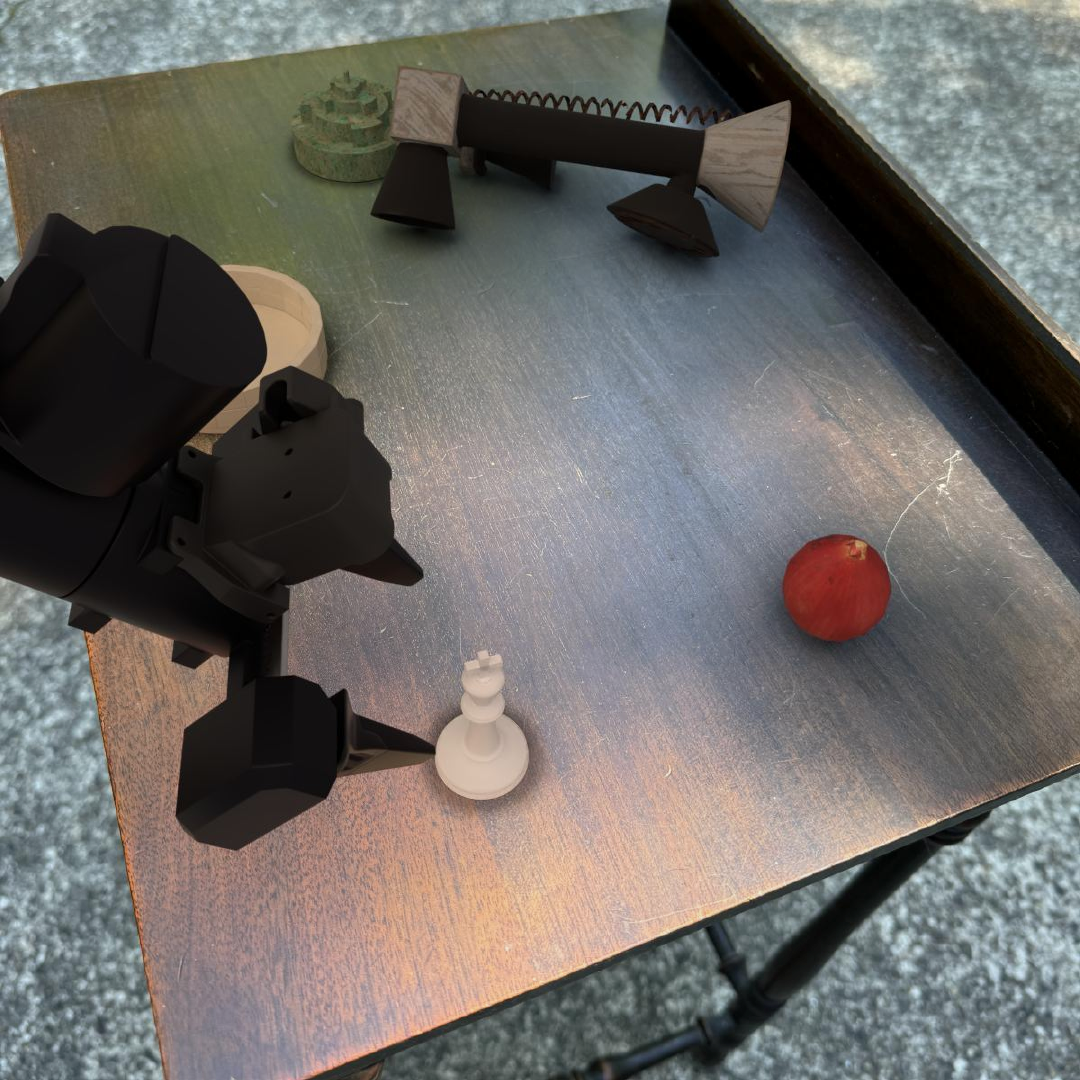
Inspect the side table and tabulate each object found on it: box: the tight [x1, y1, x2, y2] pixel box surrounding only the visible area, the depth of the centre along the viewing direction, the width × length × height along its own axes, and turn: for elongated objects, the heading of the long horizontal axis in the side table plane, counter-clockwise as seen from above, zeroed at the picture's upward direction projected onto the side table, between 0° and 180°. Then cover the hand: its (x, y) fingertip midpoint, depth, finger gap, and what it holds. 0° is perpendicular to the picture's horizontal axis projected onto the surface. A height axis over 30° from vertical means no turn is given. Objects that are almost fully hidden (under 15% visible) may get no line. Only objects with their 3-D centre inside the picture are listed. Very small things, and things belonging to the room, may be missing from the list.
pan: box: [198, 263, 328, 435], centre depth 70 cm, size 13×13×4 cm
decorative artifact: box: [290, 69, 397, 183], centre depth 86 cm, size 10×7×10 cm
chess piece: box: [434, 649, 530, 801], centre depth 49 cm, size 5×5×10 cm
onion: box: [781, 533, 892, 643], centre depth 57 cm, size 6×6×8 cm
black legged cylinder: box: [369, 65, 792, 259], centre depth 80 cm, size 15×13×30 cm
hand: (423, 661), depth 45 cm, fingers open, 9 cm apart
